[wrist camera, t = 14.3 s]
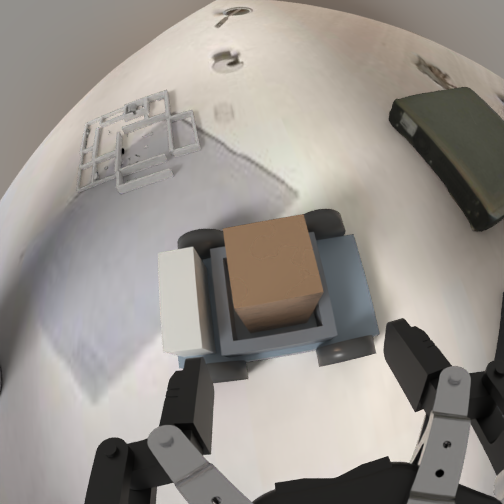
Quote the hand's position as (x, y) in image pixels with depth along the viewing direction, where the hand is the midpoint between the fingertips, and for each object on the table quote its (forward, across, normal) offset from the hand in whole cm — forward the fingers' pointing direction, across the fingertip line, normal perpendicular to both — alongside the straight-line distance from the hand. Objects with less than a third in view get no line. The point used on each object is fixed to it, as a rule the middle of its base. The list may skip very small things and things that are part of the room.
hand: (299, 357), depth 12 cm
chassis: (+15, 0, +6) cm, 16 cm away
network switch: (+26, -34, -4) cm, 43 cm away
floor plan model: (+34, +13, -12) cm, 39 cm away
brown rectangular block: (+13, 0, +5) cm, 14 cm away
